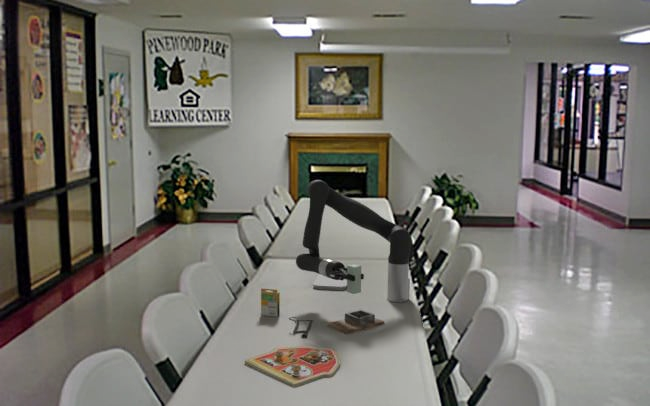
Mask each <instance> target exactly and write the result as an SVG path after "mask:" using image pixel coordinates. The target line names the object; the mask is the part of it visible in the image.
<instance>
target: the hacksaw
mask: <svg viewBox="0 0 650 406" xmlns="http://www.w3.org/2000/svg"><path fill="white" fill-rule="evenodd" d="M292 318H293V319H292ZM294 319H296V320H294ZM288 320H289V321H294V322H295V323H294V324H296V325H295V327H294V330H293V333H292V335H296V334H299V333H302V334H301V338H303V339H307V338H308V334H309V331H310V330H311V327H312V324H313V322H314V320H313V319H306V320H301V319H299V318H298V317H297V316H292V317H289V318H288ZM300 322H309V323H308V324H307V327H306V330H299V327H298V326H300ZM289 335H291V331H289Z"/></svg>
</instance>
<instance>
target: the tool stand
mask: <svg viewBox="0 0 650 406" xmlns="http://www.w3.org/2000/svg"><path fill="white" fill-rule="evenodd" d="M375 316H376V314H374V313H371V312H368V311H365V310H362V309H357V310H353V311H350V312H346V313H344V318H343V319H339V320H335V321H331V322H328V323H327V324H326V326H327V327H328V328H331V329H333V330H336V331H338V332H340V333H343V334H346V335H349V334H353V333H356V332H359V331H363V330H366V329H369V328H373V327H377V326H380V325H384V324H385V321H384V320H383V319H379V318H378V317H375Z"/></svg>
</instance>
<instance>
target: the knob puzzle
mask: <svg viewBox="0 0 650 406" xmlns="http://www.w3.org/2000/svg"><path fill="white" fill-rule="evenodd" d="M244 365H246V366H249V367H251V368H252V369H255V370H257V371H259V372H261V373H263V374H265V375H267V376H270V377H271V378H274V379H276V380H278V381H280V382H282V383H285V384H287V385H289V386H291V387H293V388H295V387H299V386H301V385H305V384H306V383H309V382H313V381H315V380H319V379H321V378H322V379H323V378H331V377H333V376H334V375H335V373H336V372H337V371H338V369H339V368H340V367H341V360H340V357H339V355H338V352H336V350H335V349H333V348H326V347H318V346H317V347H315V346H303V345H299V346H284V347H282V346H281V347H276V348H273V349H272V351H271V350H270V351H268V352H265V353H262V354H258V355H256V356H253V357H250V358H247V359H245V360H244Z"/></svg>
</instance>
